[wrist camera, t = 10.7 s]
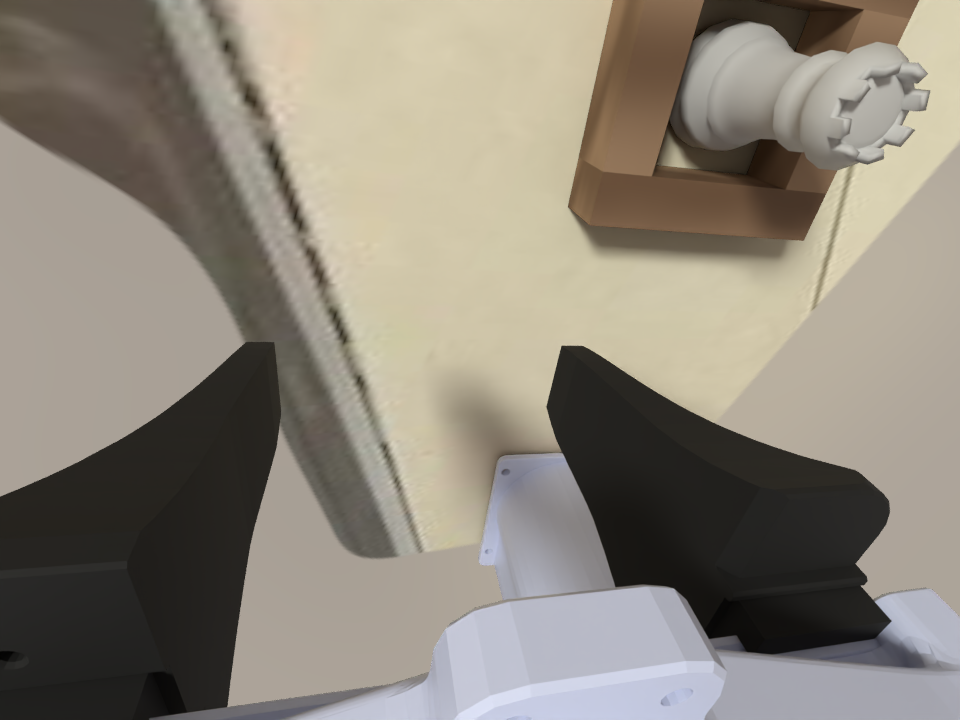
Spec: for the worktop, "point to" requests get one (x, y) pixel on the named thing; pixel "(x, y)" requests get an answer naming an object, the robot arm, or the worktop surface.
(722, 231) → the walnut docking collar
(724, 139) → the rook chess piece
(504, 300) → the worktop surface
